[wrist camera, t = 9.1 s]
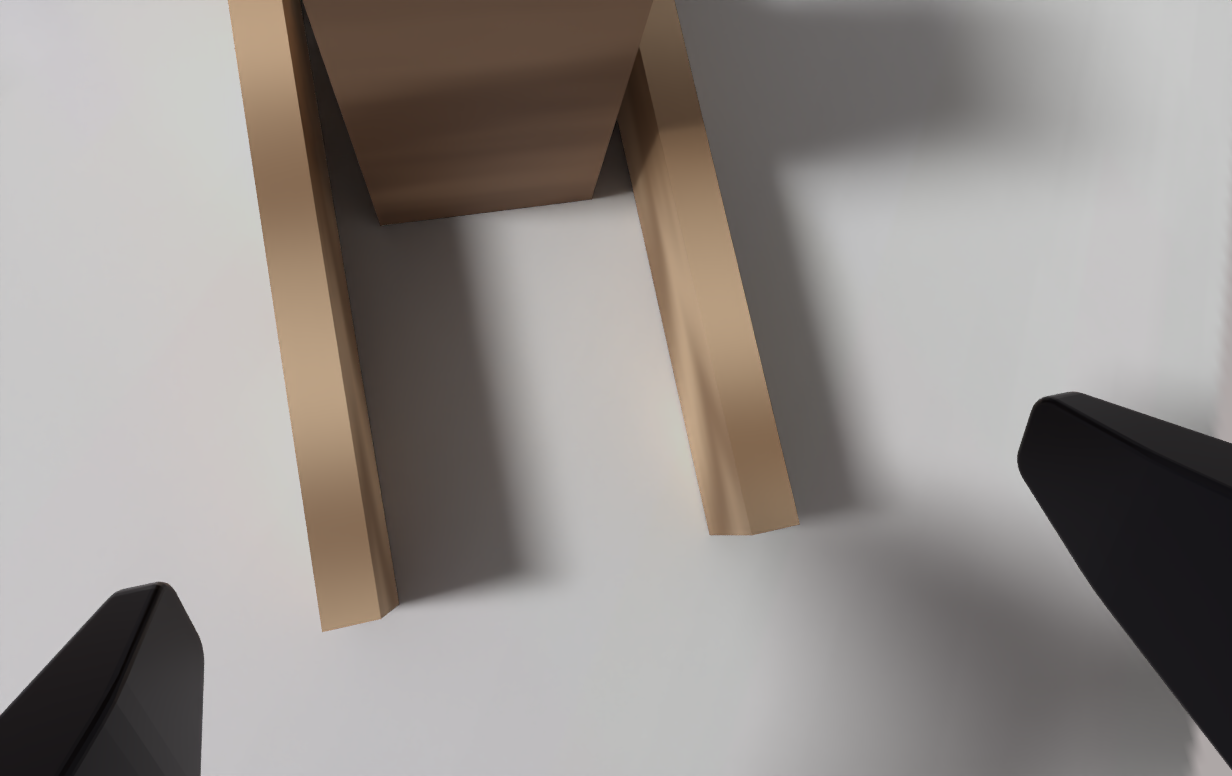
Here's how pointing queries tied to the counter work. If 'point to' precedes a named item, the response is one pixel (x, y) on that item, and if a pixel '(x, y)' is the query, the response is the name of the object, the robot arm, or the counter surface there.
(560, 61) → the tall brown box
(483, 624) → the counter surface
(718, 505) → the wooden u-shaped frame
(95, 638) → the robot arm
